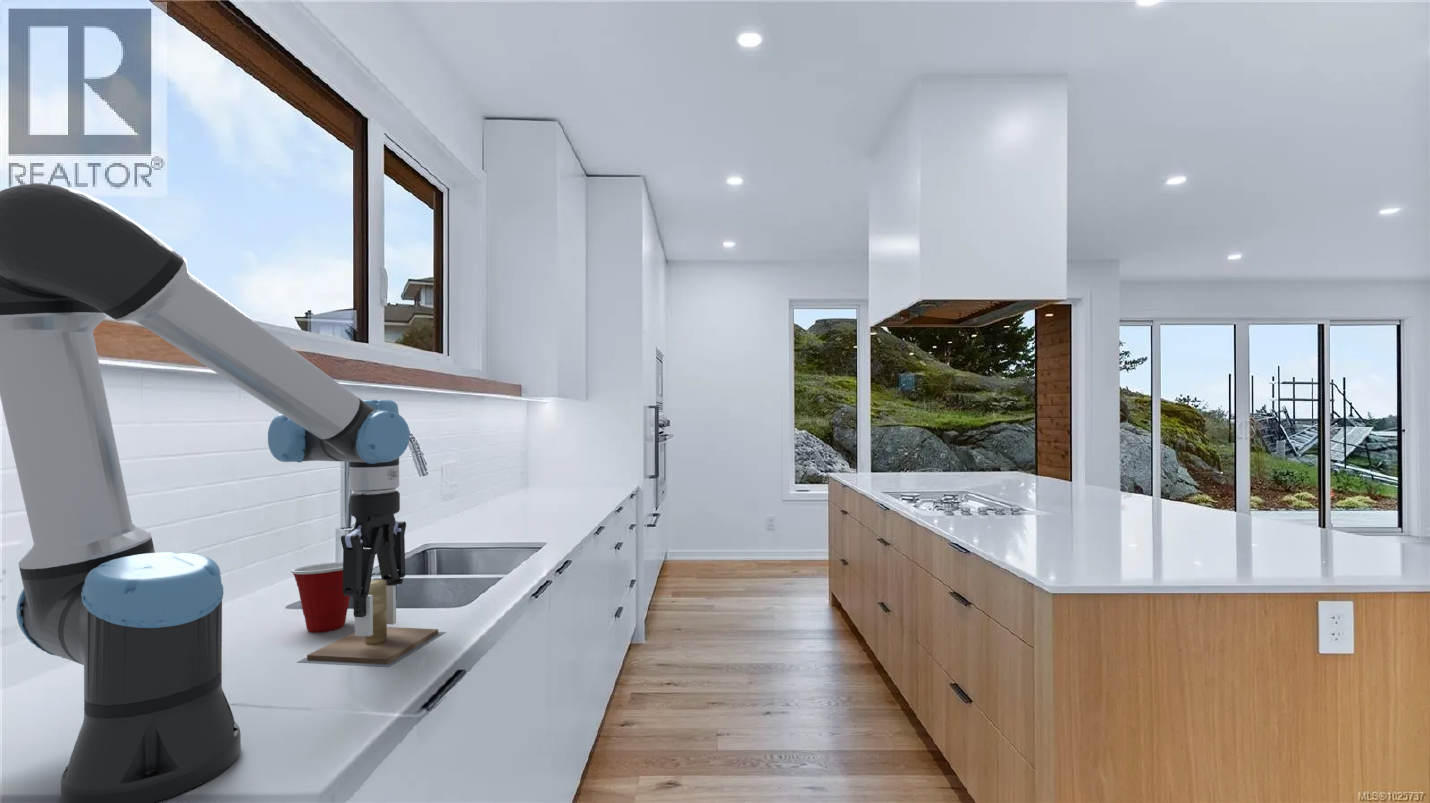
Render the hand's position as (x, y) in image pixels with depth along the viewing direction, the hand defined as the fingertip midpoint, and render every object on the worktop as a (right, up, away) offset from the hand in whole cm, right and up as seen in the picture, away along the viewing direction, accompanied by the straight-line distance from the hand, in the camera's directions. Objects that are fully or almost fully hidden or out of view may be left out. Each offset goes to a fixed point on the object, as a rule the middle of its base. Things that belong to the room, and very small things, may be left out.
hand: (376, 628), depth 110 cm
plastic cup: (-14, -4, +10) cm, 18 cm away
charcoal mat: (0, -3, 0) cm, 3 cm away
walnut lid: (0, -3, 0) cm, 3 cm away
